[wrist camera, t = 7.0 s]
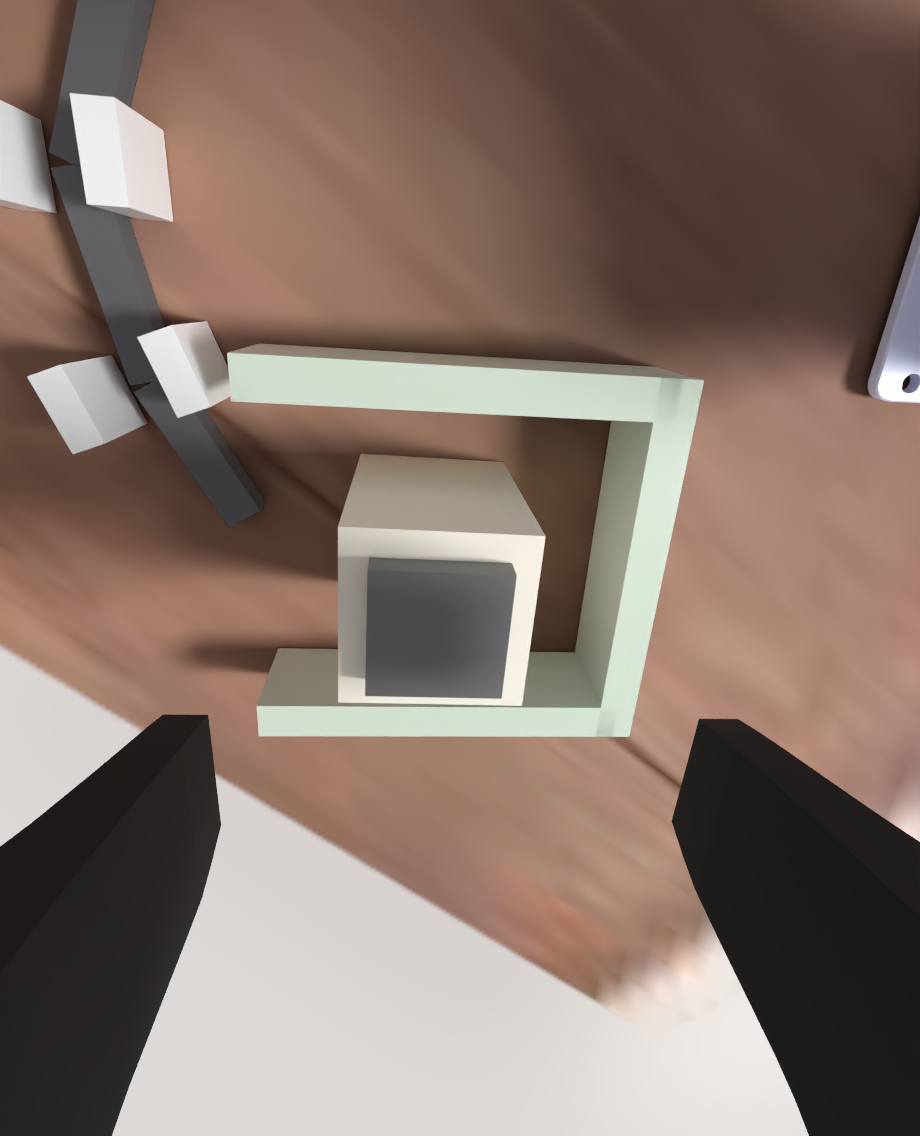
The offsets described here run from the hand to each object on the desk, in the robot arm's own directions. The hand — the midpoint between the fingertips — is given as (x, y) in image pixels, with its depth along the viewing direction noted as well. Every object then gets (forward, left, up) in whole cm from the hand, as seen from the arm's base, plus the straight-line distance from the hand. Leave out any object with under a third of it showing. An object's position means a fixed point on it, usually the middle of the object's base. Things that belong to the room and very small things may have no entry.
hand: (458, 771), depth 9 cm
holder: (0, 0, -10) cm, 10 cm away
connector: (0, 0, -10) cm, 10 cm away
